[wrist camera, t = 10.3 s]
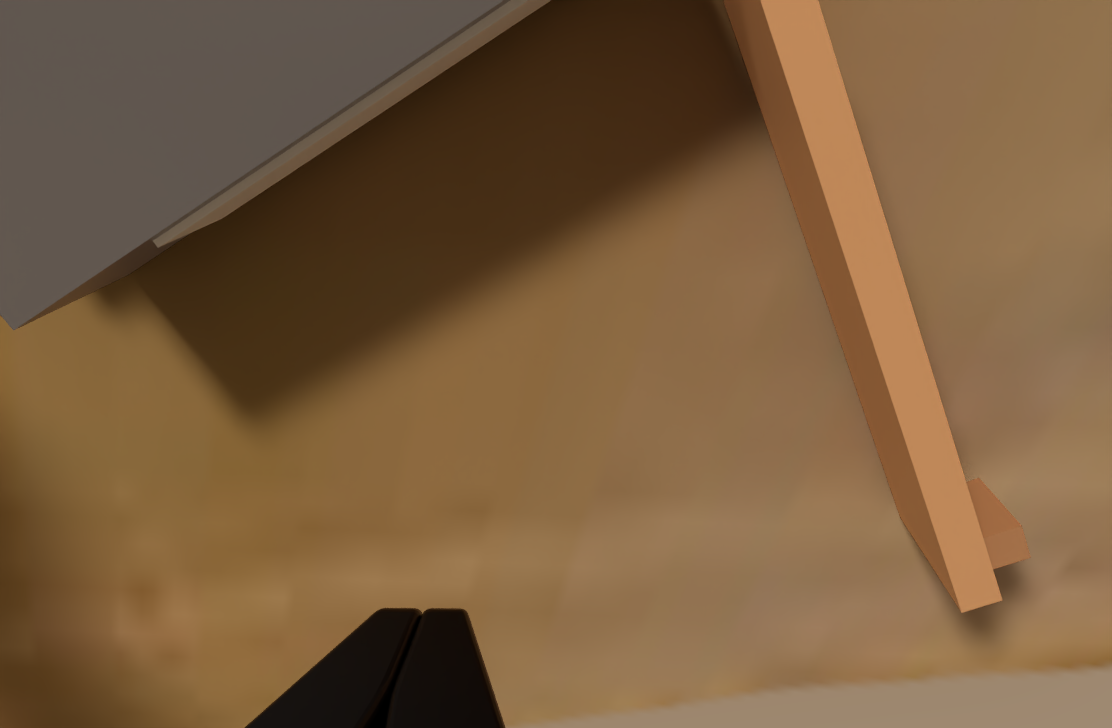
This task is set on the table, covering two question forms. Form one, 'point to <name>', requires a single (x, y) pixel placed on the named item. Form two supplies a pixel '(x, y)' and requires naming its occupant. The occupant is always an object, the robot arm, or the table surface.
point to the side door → (870, 297)
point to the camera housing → (187, 116)
